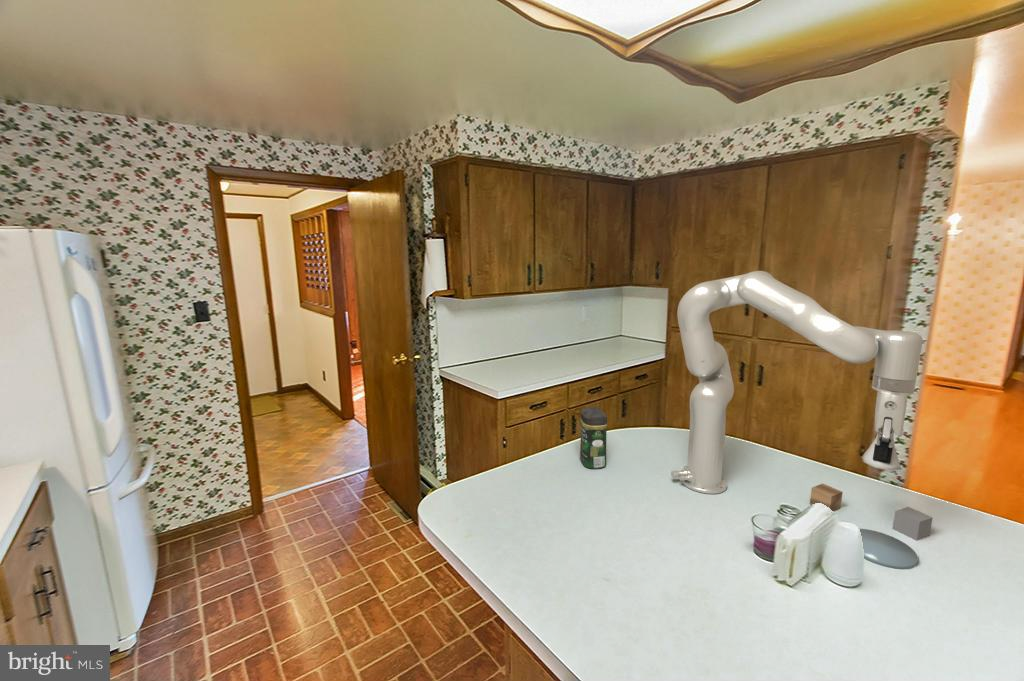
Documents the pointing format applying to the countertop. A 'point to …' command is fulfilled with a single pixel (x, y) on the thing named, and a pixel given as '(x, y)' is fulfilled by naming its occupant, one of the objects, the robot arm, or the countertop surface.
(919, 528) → the charcoal block
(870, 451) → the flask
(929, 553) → the countertop surface
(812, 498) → the walnut block
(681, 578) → the countertop surface
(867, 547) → the slate plate
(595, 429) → the coffee jar
